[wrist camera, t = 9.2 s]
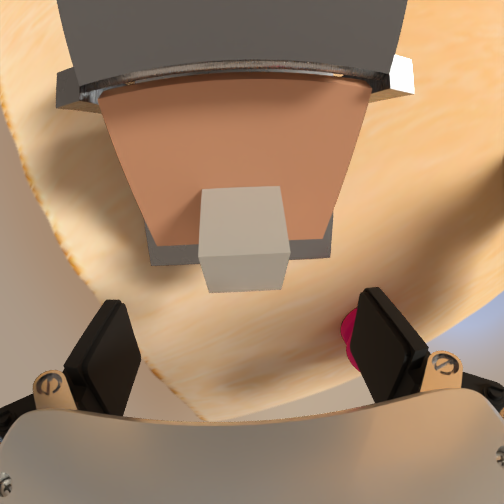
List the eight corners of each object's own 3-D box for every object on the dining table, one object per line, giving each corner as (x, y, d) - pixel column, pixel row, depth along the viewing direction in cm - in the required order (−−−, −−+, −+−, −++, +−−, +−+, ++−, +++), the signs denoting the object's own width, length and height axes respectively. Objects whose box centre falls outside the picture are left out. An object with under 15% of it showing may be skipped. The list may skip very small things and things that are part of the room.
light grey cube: (279, 185, 18) (290, 252, 15) (274, 230, 22) (281, 289, 20) (201, 189, 18) (198, 257, 15) (210, 233, 22) (209, 292, 20)
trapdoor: (371, -45, 7) (425, -38, 4) (315, 210, 25) (327, 259, 23) (93, -35, 6) (41, -26, 3) (161, 217, 25) (154, 267, 22)
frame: (327, 26, 21) (403, -49, 6) (327, 254, 30) (396, 350, 16) (139, 33, 20) (62, -38, 5) (153, 262, 30) (95, 365, 15)
